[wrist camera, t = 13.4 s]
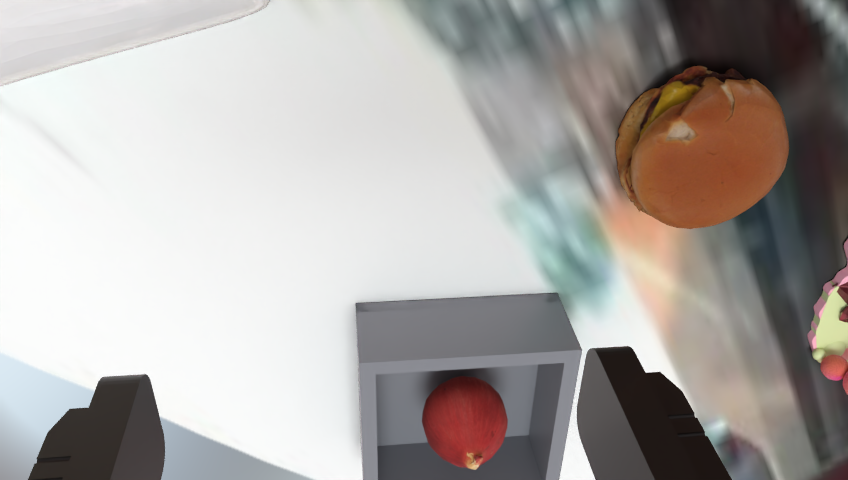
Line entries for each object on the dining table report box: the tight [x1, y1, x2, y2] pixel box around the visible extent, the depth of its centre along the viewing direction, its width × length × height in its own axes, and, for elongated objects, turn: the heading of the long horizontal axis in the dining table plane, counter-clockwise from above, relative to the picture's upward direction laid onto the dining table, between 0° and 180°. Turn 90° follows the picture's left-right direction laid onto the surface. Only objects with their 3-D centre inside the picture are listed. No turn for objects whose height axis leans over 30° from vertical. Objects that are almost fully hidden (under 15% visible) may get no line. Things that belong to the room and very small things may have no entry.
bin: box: [356, 293, 582, 480], centre depth 52 cm, size 14×14×6 cm
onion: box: [422, 376, 508, 470], centre depth 50 cm, size 6×6×8 cm
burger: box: [616, 66, 789, 229], centre depth 44 cm, size 10×10×5 cm
